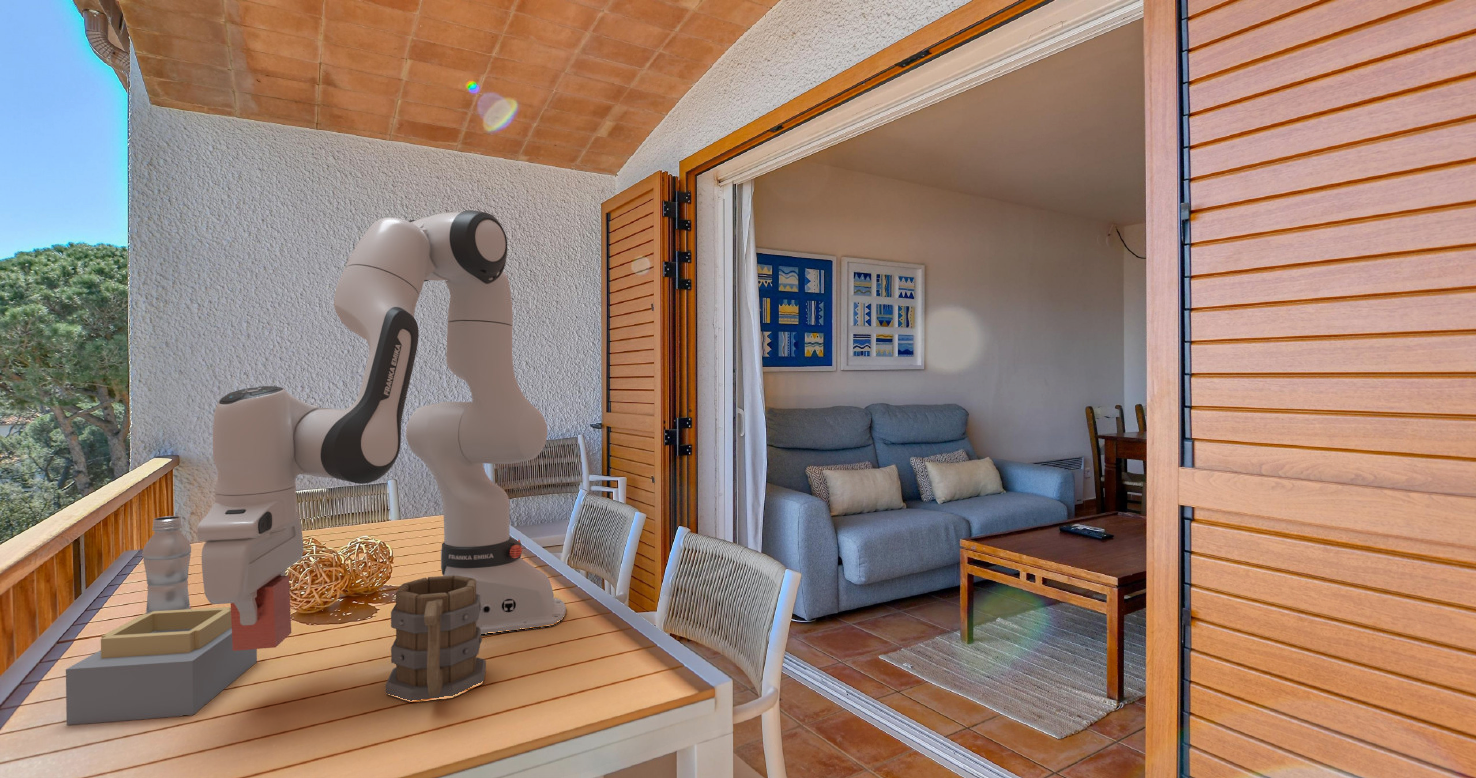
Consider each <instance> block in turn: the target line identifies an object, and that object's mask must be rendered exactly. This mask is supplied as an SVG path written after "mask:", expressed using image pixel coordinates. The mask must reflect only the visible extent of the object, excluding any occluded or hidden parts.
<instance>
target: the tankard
mask: <svg viewBox="0 0 1476 778" xmlns="http://www.w3.org/2000/svg"><path fill="white" fill-rule="evenodd" d="M481 609H482V606H481V600H480V595H479V594H476V580H475V579H473V578H468V577H463V576H458V575H456V576H455V575H451V576H443V575H438V576H428V577H422V578H419V579H416V580H412V581H408V582H404V583H402V584H401V585H400V586H399V588H398V590H397V591H396V592H395V605H394V606H393V608H392V609H391V611H390V627H391V628H392V629H394V630H395V640H394V641H393V642H392V646H391V648H390V653H391V654H390V656H391V658H390V659H391V661H390V662H391V664H394V665H395V667H394V668H393V669H392V670H391V673H390V674H389V676H388V679H387V681H386V683H385V694H386V693H387V694H390V695H394V696H398V697H400V698H403V699H407V700H410V701H412V700H421V699H429V698H439V697H444V696H453V695H455V694H458V693H459V692H462V691H464V690H465V689H468V688H470V687H472V686H473V685H476V684H478V683H481V682H482V681H484V682H485V677H484V675H485V676H486V671H485V669H486V668H487V665H486V664H487V660H485V659H484V658H481V657H478V655H479V653H480V647H481V643H482V642H483V638H482V635H481V628H479V627H476V621H477V620H478V619H479V614H480V610H481ZM486 670H487V669H486ZM387 694H386V695H387Z"/></svg>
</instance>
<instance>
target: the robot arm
mask: <svg viewBox="0 0 1476 778" xmlns="http://www.w3.org/2000/svg"><path fill="white" fill-rule="evenodd" d="M507 258H508V238H507V235H506V232H505V229H504V228H503V226H502V225H501V222H500V221H499V220H498V219H497V218H496V217H495V215H493V214H490V213H488V212H485V211H481V210H470V209H468V210H463V211H451V212H439V213H436V214H433V215H431V216H429V215H428V216H426V217H422V218H419V219H410V220H406V219H403V218H400V217H399V218H398V217H394V216H393V217H390V216H389V217H383V218H379V219H377V220H376V221H374V222H373V223H372V224H371V225H370V226H369V227H368V229H367V230H366V231H365V232H364V233H363V236H362V237H361V238H360V239H359V241H358V243H357V244H356V246H355V248H354V249H353V250H352V253H351V255H350V257H349V259H348V260H347V262H346V265H345V266H344V268H343V271H342V273H341V275H340V278H339V280H338V282H337V284H336V289H335V292H334V299H333V306H334V310H335V312H336V315H337V317H338V318H339V319H340V321H341V322H342V324H343V325H344V326H345V327H346V328H347V329H348V330H350V331H351V332H353V333H354V334H355V335H357V336H358V337H361V338H362V339H363V340H366V341H367V344H368V349H369V351H368V352H369V353H368V358H367V362H366V364H365V370H364V372H363V373H364V374H363V377H362V381H361V385H360V388H359V392H358V395H357V397H356V400H355V401H354V402H353V403H352V404H351V405H350V406H348V407H346V408H345V409H342V408H341V409H340V408H328V407H319V406H318V405H314V404H310V403H308V402H305V401H302V400H300V399H298V398H297V397H294V396H293V395H291V394H289V393H288V392H287V391H286V389H285V388H284V387H280V386H275V385H274V386H273V385H262V386H257V387H247V388H242V389H237V390H235V391H231V392H229V393H227V394H226V395H224V396H222V397H221V398H220V399H219V401H218V402H217V404H216V407H215V411H214V416H213V425H212V455H213V456H212V457H213V461H214V464H215V467H216V469H217V470H216V471H217V482H216V485H215V489H214V498H215V502H214V503H213V504H212V505H211V508H210V510H209V511H208V512H207V514H206V515H205V516H204V517H203V519H201V520H200V522H199V523H198V524H197V528H196V537H197V539H198V541H200V542H203V541H204V544H203V546H202V550H201V570H202V571H201V572H202V583H203V590H204V595H205V598H206V599H207V601H208V602H209V603H210V604H212V605H222V604H231V603H234V604H235V605H236V607H237V609H238V611H239V612H240V623H241V625H253V624H255V623H256V622H257V621H259V620H260V618H261V615H260V607H257V605H256V601H255V598H256V597H257V590H258V589H259V588H261V587H262V586H263V585H265V584H266V583H268V582H269V581H270V580H272V579H273V578H275V577H276V576H285V575H286V570H287V569H289V568H291V567H292V566H293V565H295V564H296V563H298V562H299V561H301V559H302V557H303V553H304V540H303V539H304V537H303V528H302V522H301V517H300V514H299V512H298V509H297V487H296V486H297V484H296V478H297V476H299V475H305V476H312V477H318V478H328V479H337V480H340V481H344V482H349V483H354V484H359V485H360V484H362V485H364V484H369V483H370V484H371V483H373V482H376V481H377V480H379V479H381V478H382V477H383V476H385V475H386V474H387V473H388V472H389V471H390V470H391V469H392V467H393V466H394V464H395V463H396V460H397V459H398V457H399V454H400V450H401V443H402V421H403V413H404V409H405V404H406V400H407V394H408V391H409V388H410V387H409V386H410V381H411V377H412V374H413V368H414V366H415V365H414V364H415V360H416V356H417V350H418V344H419V325H418V322H417V319H415V310H416V306H417V303H418V301H419V297H420V295H421V292H422V290H423V287H424V283H425V282H429V281H436V282H438V281H445V283H446V286H447V288H448V292H449V296H450V297H449V303H448V305H449V306H448V312H447V313H448V315H447V332H446V333H447V335H446V337H447V338H446V358H445V360H446V364H447V367H448V369H449V370H450V372H452V374H453V375H454V376H456V377H457V378H459V379H461V380H463V381H465V383H466V385H467V386H468V388H469V390H470V392H471V400H472V401H440V402H436V403H431V404H427V405H423V406H420V407H418V408H416V409H415V410H414V412H412V414H411V415H410V417H409V419H408V421H407V424H406V429H405V438H406V441H407V444H408V447H409V448H410V450H411V452H412V453H413V455H415V456H416V457H418V459H420V460H421V461H423V463H424V464H425V466H426V467H427V468H428V469H429V471H430V472H431V474H432V476H433V477H434V480H435V482H436V484H437V487H438V489H439V493H440V497H441V502H442V512H443V529H444V530H443V536H444V537H443V539H444V541H443V542H442V543H441V549H440V568H441V574H442V576H451V575H455V576H456V575H458V576H463V577H468V578H473V579H475V580H476V594H479V595H480V600H481V606H482V609H481V610H480V614H479V619H478V620H477V621H476V627H479V628H481V634H485V633H488V632H498V631H506V630H516V629H520V628H521V629H522V628H530V627H539V626H543V625H549V624H554V623H556V622H557V621H559V620H561V619H562V618H563V616H564V615H565V612H566V613H567V610H566V603H565V602H564V601H563V600H562V599H559V598H556V597H555V596H554V591H553V586H552V583H551V580H550V579H549V577H548V575H546V574H545V572H542V570H539V569H538V568H536V567H535V566H533V565H532V564H530V563H529V562H528V561H526V560H525V559H523V558H522V553H523V548H522V543H521V540H520V539H518V540H517V539H515V538H513V537H511V536H510V499H509V495H508V493H507V492H506V491H505V490H504V489H503V488H502V487H501V486H499V485H498V484H496V483H495V482H493V481H492V480H491V479H490V478H489V476H488V475H487V472H486V471H485V468H484V464H490V465H491V464H494V465H510V464H517V463H521V462H522V463H523V462H527V461H528V462H529V461H533V460H535V458H537V457H538V456H539V455H540V454H541V452H542V451H543V449H544V447H545V445H546V443H547V438H548V426H547V423H546V420H545V418H544V416H543V414H542V413H541V411H540V410H539V409H538V408H536V407H535V406H534V405H533V404H532V403H531V402H530V401H529V400H528V399H527V398H526V396H525V395H524V394H523V391H522V390H521V388H520V386H519V383H518V382H517V379H516V375H515V370H514V364H513V361H514V360H513V325H514V324H513V322H514V321H513V318H514V317H513V301H512V300H513V298H512V293H511V287H510V282H509V278H508V276H507V274H506V273H505V272H504V270H505V267H506V262H507ZM565 616H566V615H565ZM485 635H486V634H485Z"/></svg>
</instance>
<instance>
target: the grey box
mask: <svg viewBox="0 0 1476 778" xmlns="http://www.w3.org/2000/svg"><path fill="white" fill-rule="evenodd" d="M257 662H258V649H250V650H238V651H233V645H232V623H231V606H228V607H227V606H226V607H225V606H223V607H209V608H208V607H206V608H191V609H185V610H167V611H153V612H151V613H149V614H145V613H143V614H141V615H139V616H137V617H135V618H133V619H131V620H130V621H127V622H125V623H123V624H122V625H120V626H118V627H116V628H114V629H113V630H110V631H108V632H107V633H104V634H103V635H101V639H100V650H98V651H97V652H95V653H93V654H91V655H89V656H87V657H85V658H83V659H82V660H80V661H79V662H76V663H74V664H72V665H71V666H69V667H67V668H66V669H65V696H66V698H65V702H66V704H65V705H66V707H65V709H66V710H65V711H66V726H71V725H72V726H74V725H75V726H76V725H85V724H98V723H99V724H100V723H111V722H113V723H114V722H123V721H136V720H151V719H160V718H161V719H162V718H174V717H176V718H177V717H184V716H183V715H189V716H194V715H196V713H197V712H199V711H200V710H201V709H202V708H203V707H205V706H206V705H207V704H208V703H209V702H210V700H211V701H212V700H213V699H214V698H216V697H217V695H219V694H220V693H221V692H223V691H224V690H225V689H226V688H228V687H229V686H230V685H231V684H232V683H233V682H235V681H236V680H237V679H238V678H239V677H240V676H241V675H243V674H245V672H246V671H247V670H249V669H250V668H251V667H252V666H254V665H255V664H256V663H257ZM205 704H206V705H205ZM199 709H200V710H199ZM198 710H199V711H198ZM193 714H194V715H193ZM150 718H151V719H150Z"/></svg>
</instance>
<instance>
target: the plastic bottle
mask: <svg viewBox="0 0 1476 778" xmlns="http://www.w3.org/2000/svg"><path fill="white" fill-rule="evenodd" d="M182 527H183V526H182V518H181V516H179V515H168V516H162V517H161V516H160V517H155V518H153V521H152V528H151V530H152V532H154V533H153V535H151V537H150V538H149V539H148V540H147V542H146V544H145V545H144V546H143V550H142V552H141V554H142V559H143V565H144V570H145V575H146V585H147V587H146V588H147V596H146V609H145V611H146V612H145V613H144V614H149V613H151V612H153V611H167V610H185V609H192V607H191V604H190V596H189V588H188V587H189V586H188V585H189V568H190V561H191V556H192V554H191V553H192V545H191V543H190V540H188V538H187V537H186V536H185V535H184V534H183V533H182V532H181V531H180V529H182Z"/></svg>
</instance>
